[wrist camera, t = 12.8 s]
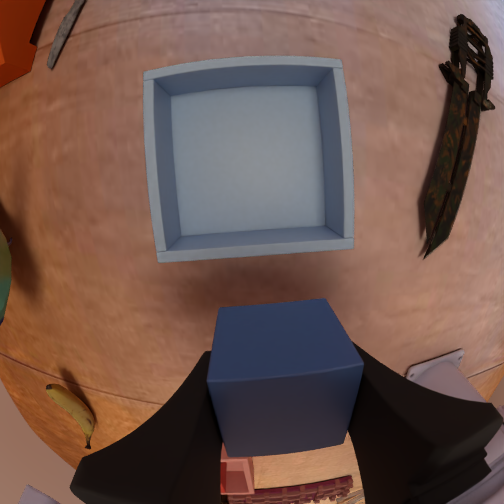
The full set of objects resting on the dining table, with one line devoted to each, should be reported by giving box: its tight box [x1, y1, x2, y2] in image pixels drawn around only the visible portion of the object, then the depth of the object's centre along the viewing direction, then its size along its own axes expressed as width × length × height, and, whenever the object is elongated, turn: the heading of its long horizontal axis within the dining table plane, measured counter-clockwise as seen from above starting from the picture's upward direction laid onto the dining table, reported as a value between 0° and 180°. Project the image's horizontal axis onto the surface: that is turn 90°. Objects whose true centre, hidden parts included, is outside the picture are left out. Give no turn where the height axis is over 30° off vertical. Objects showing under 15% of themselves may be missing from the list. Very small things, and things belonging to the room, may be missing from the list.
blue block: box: [207, 298, 364, 457], centre depth 9 cm, size 4×4×4 cm
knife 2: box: [423, 14, 495, 260], centre depth 14 cm, size 25×6×1 cm, turn 154°
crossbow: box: [336, 489, 365, 504], centre depth 31 cm, size 16×13×2 cm
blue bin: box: [143, 56, 354, 263], centre depth 14 cm, size 10×10×4 cm
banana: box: [46, 384, 95, 450], centre depth 20 cm, size 10×2×4 cm, turn 2°
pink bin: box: [221, 443, 255, 495], centre depth 22 cm, size 10×10×4 cm
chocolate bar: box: [227, 476, 353, 504], centre depth 27 cm, size 7×19×2 cm, turn 94°
